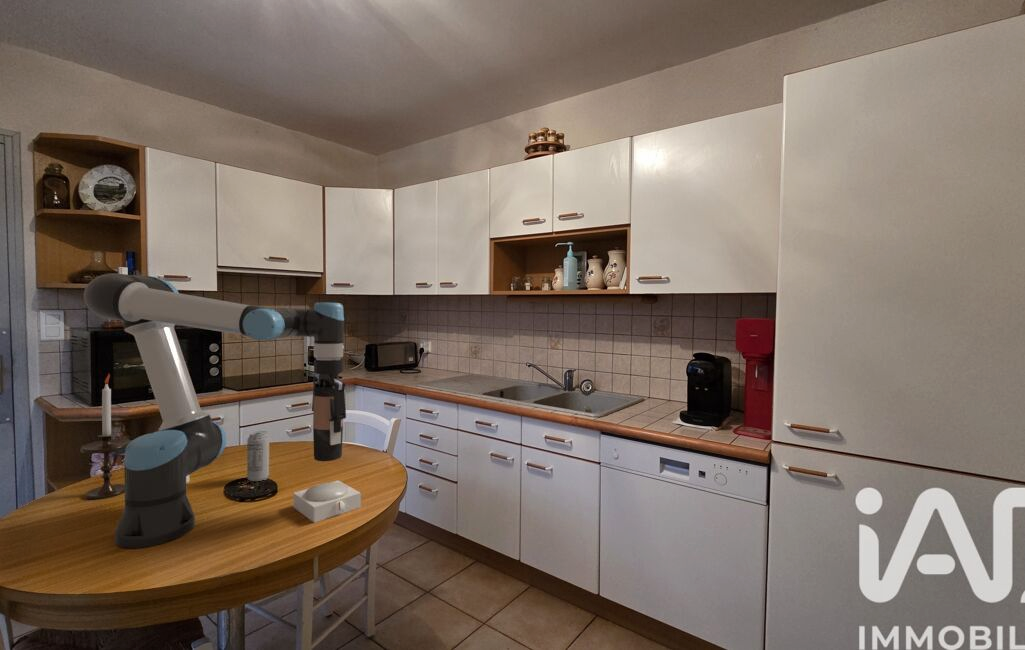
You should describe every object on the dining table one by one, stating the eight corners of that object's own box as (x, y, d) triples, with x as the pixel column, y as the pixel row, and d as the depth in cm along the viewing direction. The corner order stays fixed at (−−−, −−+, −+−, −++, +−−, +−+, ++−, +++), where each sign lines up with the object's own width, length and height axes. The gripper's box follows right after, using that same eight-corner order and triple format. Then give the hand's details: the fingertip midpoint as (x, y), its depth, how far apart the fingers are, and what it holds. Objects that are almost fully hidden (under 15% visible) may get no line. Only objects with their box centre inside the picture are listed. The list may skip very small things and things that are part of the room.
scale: (315, 523, 114) (315, 505, 114) (293, 507, 124) (293, 490, 123) (361, 507, 124) (362, 490, 124) (338, 493, 133) (338, 477, 133)
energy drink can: (273, 477, 145) (273, 431, 144) (258, 484, 139) (258, 436, 138) (257, 475, 146) (258, 429, 146) (242, 482, 140) (242, 434, 140)
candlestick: (141, 486, 135) (140, 371, 134) (108, 501, 124) (107, 376, 123) (105, 485, 135) (105, 370, 134) (69, 500, 124) (69, 375, 123)
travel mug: (348, 456, 125) (349, 385, 124) (324, 463, 118) (325, 388, 118) (330, 451, 129) (331, 382, 128) (306, 458, 122) (307, 385, 122)
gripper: (360, 360, 119) (359, 445, 119) (324, 354, 132) (324, 431, 133) (333, 362, 113) (332, 451, 114) (299, 356, 127) (298, 435, 128)
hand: (328, 440), depth 123 cm, fingers closed on travel mug, 8 cm apart
